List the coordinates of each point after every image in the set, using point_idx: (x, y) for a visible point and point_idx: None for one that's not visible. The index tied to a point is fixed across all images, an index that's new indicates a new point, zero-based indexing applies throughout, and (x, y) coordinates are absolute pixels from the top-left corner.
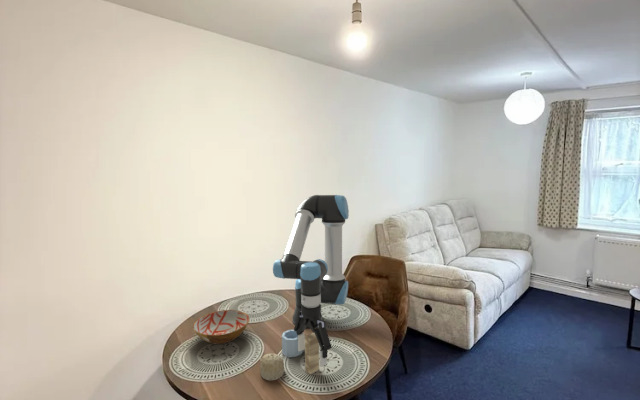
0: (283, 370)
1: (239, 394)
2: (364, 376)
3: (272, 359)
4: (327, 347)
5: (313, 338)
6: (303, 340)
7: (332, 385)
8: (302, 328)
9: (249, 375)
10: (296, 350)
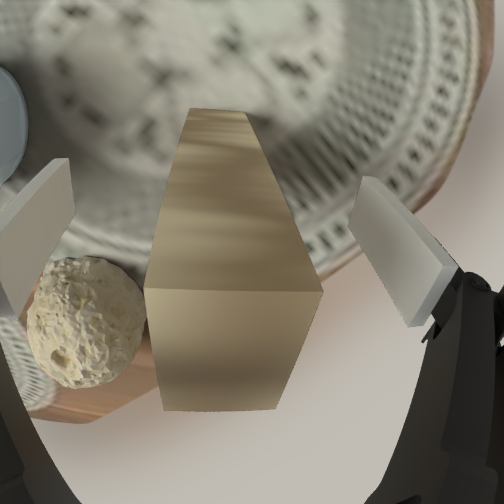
0: (122, 283)
1: (146, 392)
2: (474, 23)
3: (101, 377)
4: (501, 339)
5: (287, 362)
6: (30, 214)
7: (390, 169)
8: (43, 444)
9: None
10: (6, 148)
